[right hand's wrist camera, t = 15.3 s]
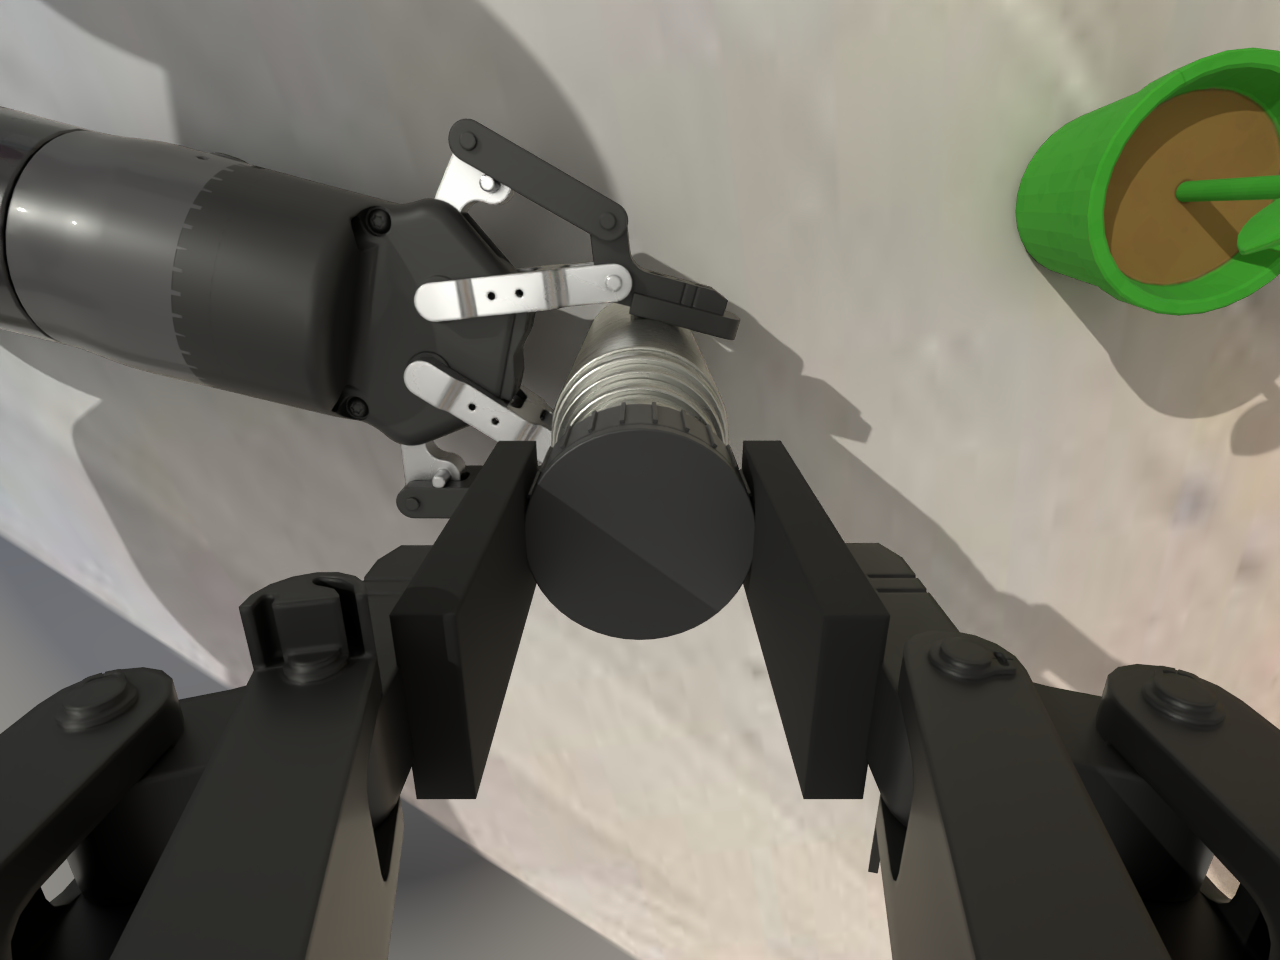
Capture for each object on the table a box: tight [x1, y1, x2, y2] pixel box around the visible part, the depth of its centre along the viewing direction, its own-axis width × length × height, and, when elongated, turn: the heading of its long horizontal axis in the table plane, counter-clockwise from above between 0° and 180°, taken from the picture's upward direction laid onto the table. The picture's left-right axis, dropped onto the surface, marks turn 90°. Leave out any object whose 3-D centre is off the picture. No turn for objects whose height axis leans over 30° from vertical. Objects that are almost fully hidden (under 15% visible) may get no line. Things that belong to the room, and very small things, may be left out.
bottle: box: [551, 302, 729, 447], centre depth 22 cm, size 5×5×19 cm
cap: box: [525, 402, 755, 640], centre depth 13 cm, size 4×4×2 cm
